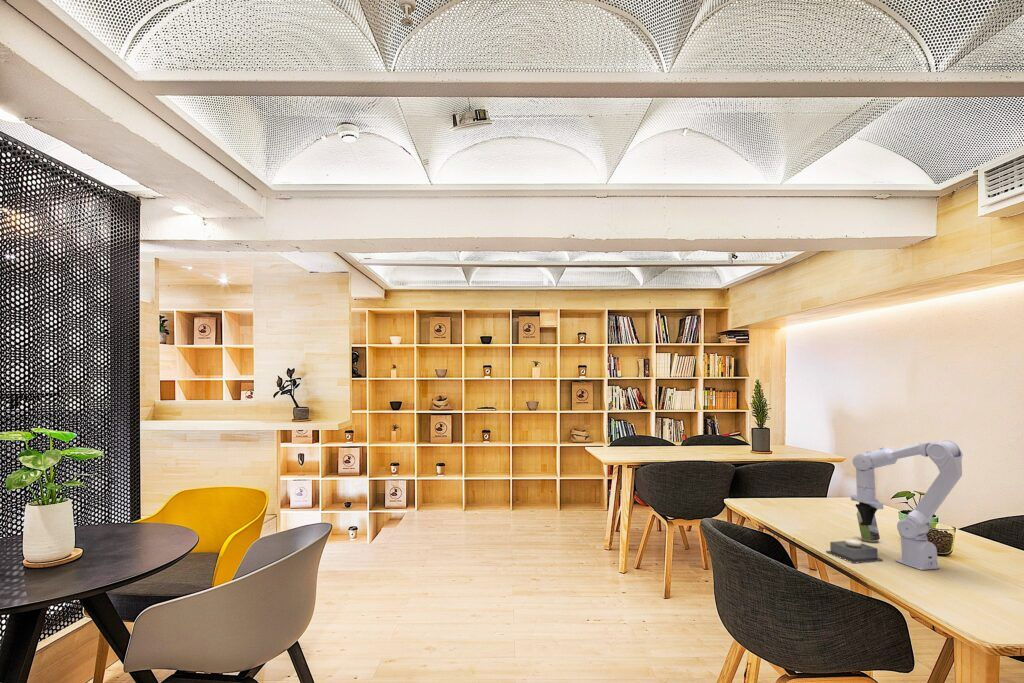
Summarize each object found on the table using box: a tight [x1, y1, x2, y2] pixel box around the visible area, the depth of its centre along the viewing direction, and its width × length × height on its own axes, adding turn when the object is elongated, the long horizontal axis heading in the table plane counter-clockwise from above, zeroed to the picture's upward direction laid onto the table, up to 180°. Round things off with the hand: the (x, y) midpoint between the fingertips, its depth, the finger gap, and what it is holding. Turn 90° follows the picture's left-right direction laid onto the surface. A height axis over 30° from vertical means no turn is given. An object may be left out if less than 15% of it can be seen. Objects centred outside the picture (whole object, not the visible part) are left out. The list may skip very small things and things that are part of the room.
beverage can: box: [856, 510, 881, 543], centre depth 212 cm, size 6×7×12 cm
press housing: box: [825, 540, 884, 564], centre depth 192 cm, size 12×12×4 cm
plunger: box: [844, 537, 863, 547], centre depth 192 cm, size 5×5×5 cm
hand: (867, 524), depth 197 cm, fingers closed
